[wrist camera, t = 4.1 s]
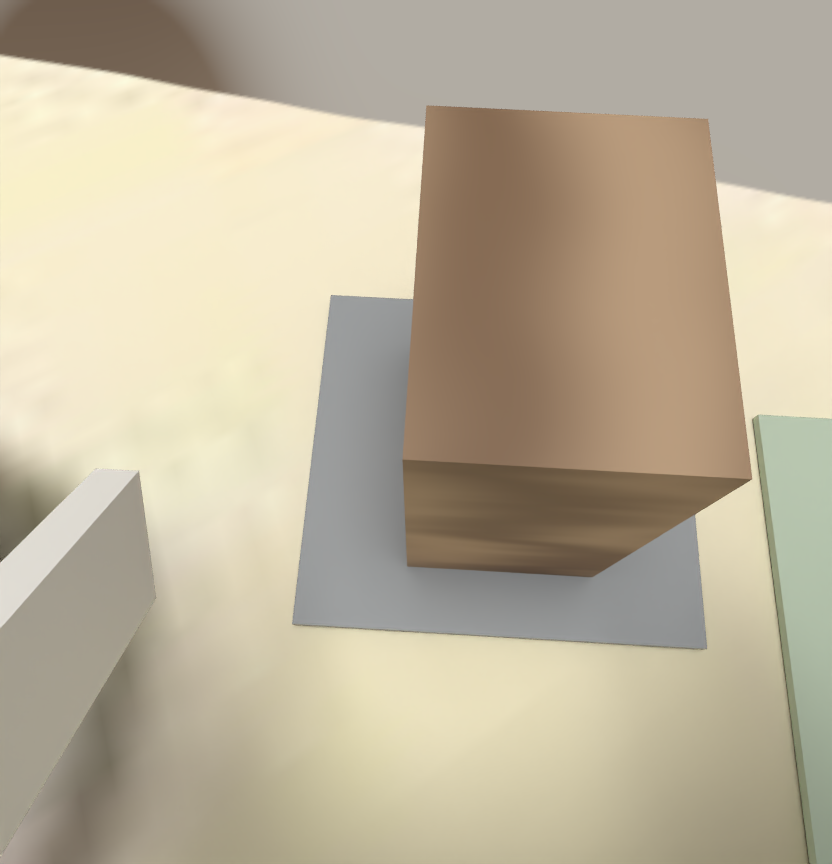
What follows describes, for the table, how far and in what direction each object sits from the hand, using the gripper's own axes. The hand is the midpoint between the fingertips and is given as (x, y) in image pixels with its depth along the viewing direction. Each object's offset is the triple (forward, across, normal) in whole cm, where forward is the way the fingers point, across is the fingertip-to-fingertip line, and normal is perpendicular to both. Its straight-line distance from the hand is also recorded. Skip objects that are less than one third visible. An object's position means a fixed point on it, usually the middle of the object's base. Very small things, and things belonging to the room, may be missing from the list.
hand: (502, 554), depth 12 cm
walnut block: (+11, +1, -3) cm, 11 cm away
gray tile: (+11, +1, -3) cm, 12 cm away
